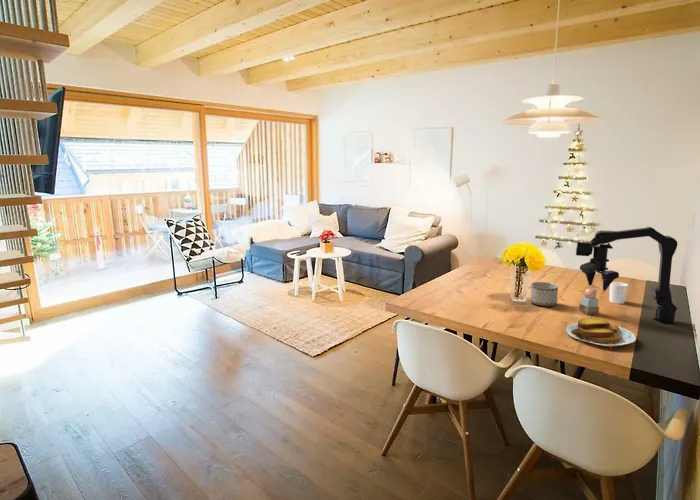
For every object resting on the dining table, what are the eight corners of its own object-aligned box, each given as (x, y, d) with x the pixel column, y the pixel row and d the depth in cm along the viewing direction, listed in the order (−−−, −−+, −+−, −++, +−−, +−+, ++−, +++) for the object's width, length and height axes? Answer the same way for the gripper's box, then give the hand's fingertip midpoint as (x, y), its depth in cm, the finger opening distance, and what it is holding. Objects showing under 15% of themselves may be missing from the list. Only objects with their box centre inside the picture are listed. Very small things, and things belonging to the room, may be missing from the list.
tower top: (597, 306, 192) (598, 299, 191) (587, 307, 192) (588, 299, 191) (590, 303, 197) (591, 295, 196) (581, 303, 196) (582, 296, 196)
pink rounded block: (598, 298, 191) (598, 291, 191) (589, 299, 191) (590, 291, 190) (591, 295, 196) (592, 288, 195) (582, 296, 195) (583, 288, 195)
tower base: (598, 314, 193) (599, 307, 192) (587, 315, 192) (587, 307, 191) (589, 310, 198) (590, 303, 198) (578, 311, 198) (579, 303, 197)
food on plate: (626, 357, 150) (628, 341, 148) (556, 338, 167) (558, 324, 166) (641, 337, 167) (643, 322, 165) (576, 321, 184) (577, 308, 183)
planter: (524, 301, 212) (525, 283, 210) (542, 298, 217) (544, 280, 215) (543, 309, 201) (545, 289, 199) (561, 306, 205) (563, 286, 203)
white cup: (628, 304, 205) (630, 286, 203) (611, 303, 207) (614, 285, 205) (621, 299, 213) (623, 282, 211) (605, 299, 215) (607, 281, 213)
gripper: (571, 254, 198) (569, 283, 201) (599, 262, 180) (596, 294, 183) (591, 252, 199) (588, 282, 202) (621, 260, 181) (618, 293, 184)
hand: (597, 287), depth 193 cm, fingers open, 9 cm apart
